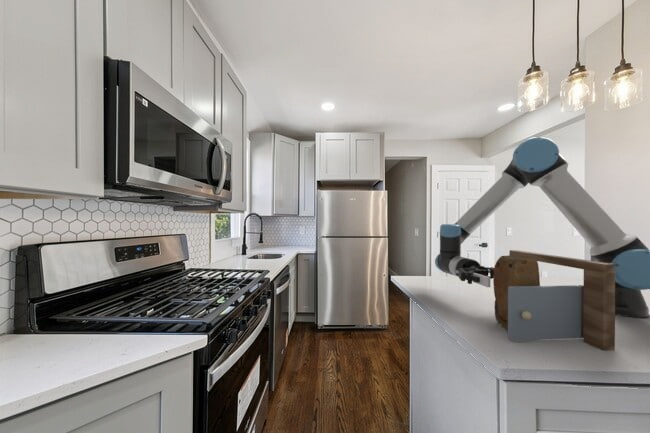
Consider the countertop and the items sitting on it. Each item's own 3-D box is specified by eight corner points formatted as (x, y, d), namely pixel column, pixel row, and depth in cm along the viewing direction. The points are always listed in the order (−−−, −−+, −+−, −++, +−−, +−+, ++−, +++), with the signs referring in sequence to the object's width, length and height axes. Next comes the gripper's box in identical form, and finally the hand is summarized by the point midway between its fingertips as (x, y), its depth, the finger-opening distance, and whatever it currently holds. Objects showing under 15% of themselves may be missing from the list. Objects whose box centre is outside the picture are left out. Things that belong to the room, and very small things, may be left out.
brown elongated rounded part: (543, 336, 71) (543, 259, 72) (515, 336, 71) (515, 259, 71) (513, 320, 82) (513, 253, 82) (489, 320, 82) (489, 253, 82)
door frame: (517, 309, 92) (517, 250, 93) (614, 350, 64) (615, 264, 64) (509, 309, 92) (509, 250, 92) (603, 350, 64) (603, 264, 64)
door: (582, 335, 71) (582, 285, 71) (596, 341, 67) (596, 288, 68) (507, 338, 69) (507, 286, 69) (518, 344, 65) (518, 289, 65)
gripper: (497, 278, 100) (551, 294, 79) (432, 279, 97) (470, 296, 76) (497, 257, 100) (551, 268, 79) (432, 258, 97) (470, 269, 76)
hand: (511, 282), depth 77 cm, fingers open, 13 cm apart
